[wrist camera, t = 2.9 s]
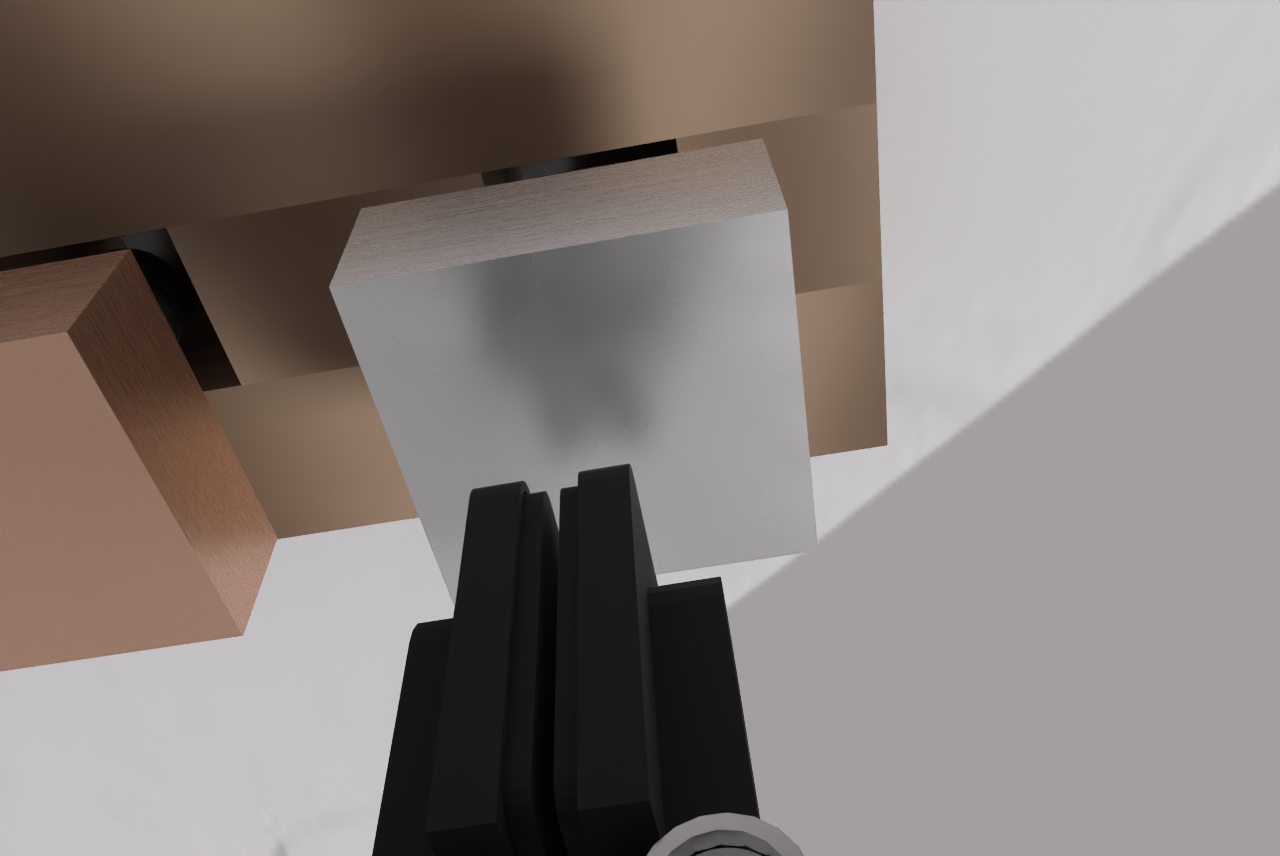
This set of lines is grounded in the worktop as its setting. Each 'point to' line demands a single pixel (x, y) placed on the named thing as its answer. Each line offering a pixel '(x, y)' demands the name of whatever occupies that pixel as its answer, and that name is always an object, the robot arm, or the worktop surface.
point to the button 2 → (594, 348)
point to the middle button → (114, 470)
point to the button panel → (415, 176)
